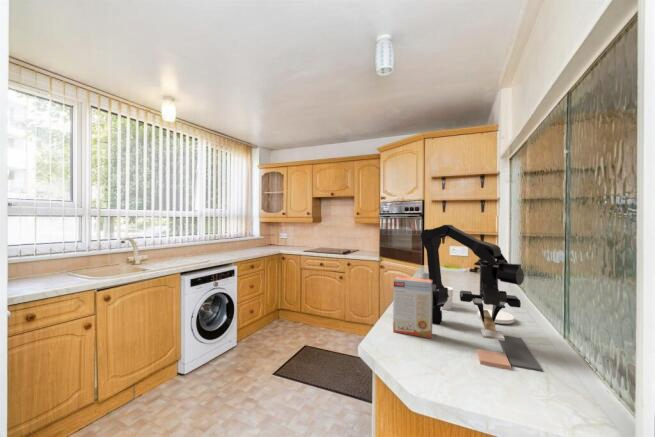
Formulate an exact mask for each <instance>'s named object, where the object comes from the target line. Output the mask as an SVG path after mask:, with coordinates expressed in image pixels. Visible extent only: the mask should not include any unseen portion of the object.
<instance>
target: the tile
mask: <svg viewBox="0 0 655 437" xmlns="http://www.w3.org/2000/svg"><path fill="white" fill-rule="evenodd" d="M476 353H477V357H478V361H479V363H480V365H484V366H488V367H494V368H498V369H505V370H509V371H511V368H512V366H511V365H510V363H509V361H508V359H507V356H506V354H505V353H502V352H497V351H496V352H495V351H490V350H484V349H479V348H477V352H476Z"/></svg>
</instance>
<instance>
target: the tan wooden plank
mask: <svg viewBox="0 0 655 437" xmlns="http://www.w3.org/2000/svg"><path fill="white" fill-rule="evenodd" d="M479 318H480V319H481V322H482V325H483V327H484V328H480V332H481V336H482V337H483V339H490V340H496V341H499V340H502V341H505V338H504V336H503V335H504V334H503V332H502V331H499V330H496V323H495V322H494V321H493V319H492V317H491V316H490V314H489V312H488V310H484V322H483V321H482V317H481V314H480V317H479Z"/></svg>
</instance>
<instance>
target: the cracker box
mask: <svg viewBox="0 0 655 437" xmlns="http://www.w3.org/2000/svg"><path fill="white" fill-rule="evenodd" d="M392 305H393V309H392V313H393V315H392V330H393V331H392V332H394V333H399V334H404V335H410V336H415V337H421V338H426V339H431V338H432V333H433V323H432V280H429V279H419V278H417V277H408V276H407V277H406V276H396V277H394V278H393V303H392Z"/></svg>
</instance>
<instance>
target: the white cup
mask: <svg viewBox="0 0 655 437" xmlns="http://www.w3.org/2000/svg"><path fill="white" fill-rule="evenodd" d="M443 286H444V288H446V287H447V288H448V296H449V297H448V300H447V302H446V303H445V304H444V306H443V307H441V310H442V311H443V310H444V311H450V310H451V311H452V309H453V300H454V299H453V296H454V287H451V286H446V285H443Z"/></svg>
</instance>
